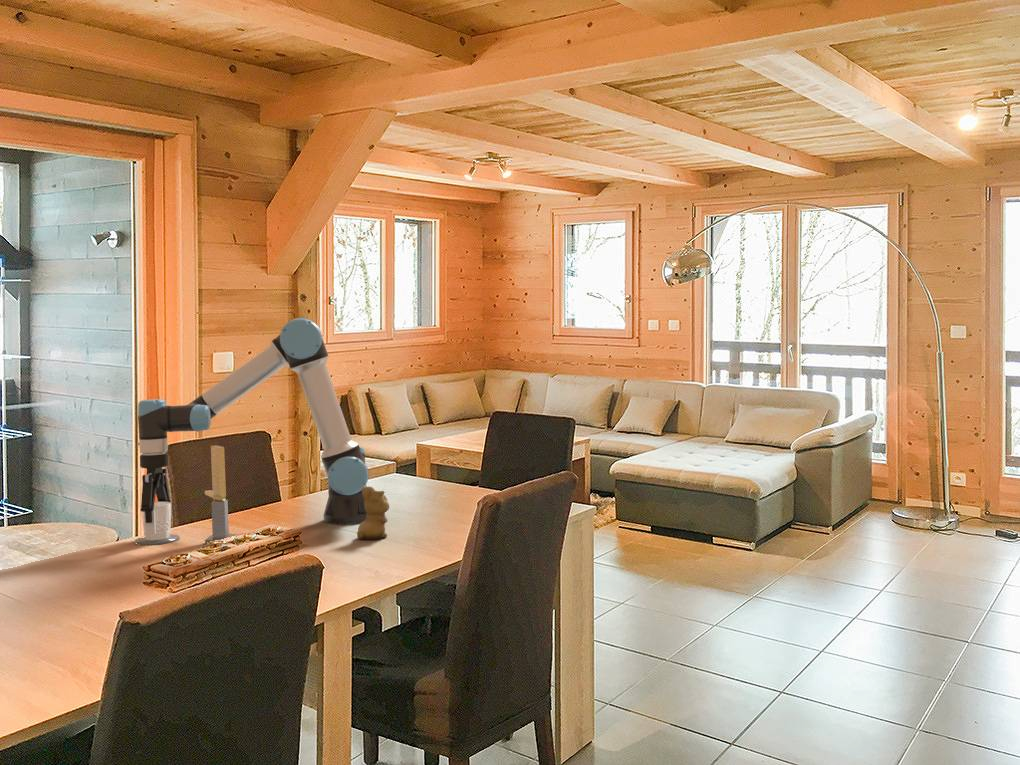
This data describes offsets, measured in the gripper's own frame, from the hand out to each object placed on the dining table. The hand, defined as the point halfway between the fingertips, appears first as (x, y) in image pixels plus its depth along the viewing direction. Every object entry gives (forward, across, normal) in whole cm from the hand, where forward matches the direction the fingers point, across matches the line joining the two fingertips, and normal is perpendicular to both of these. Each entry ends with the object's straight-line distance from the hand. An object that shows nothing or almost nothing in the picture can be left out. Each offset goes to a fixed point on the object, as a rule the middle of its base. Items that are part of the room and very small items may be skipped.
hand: (156, 529), depth 263 cm
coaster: (+3, 0, 0) cm, 3 cm away
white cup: (+3, 0, 0) cm, 3 cm away
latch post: (+3, +4, +19) cm, 20 cm away
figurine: (+3, +8, +63) cm, 63 cm away
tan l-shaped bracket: (-9, 0, +17) cm, 19 cm away
